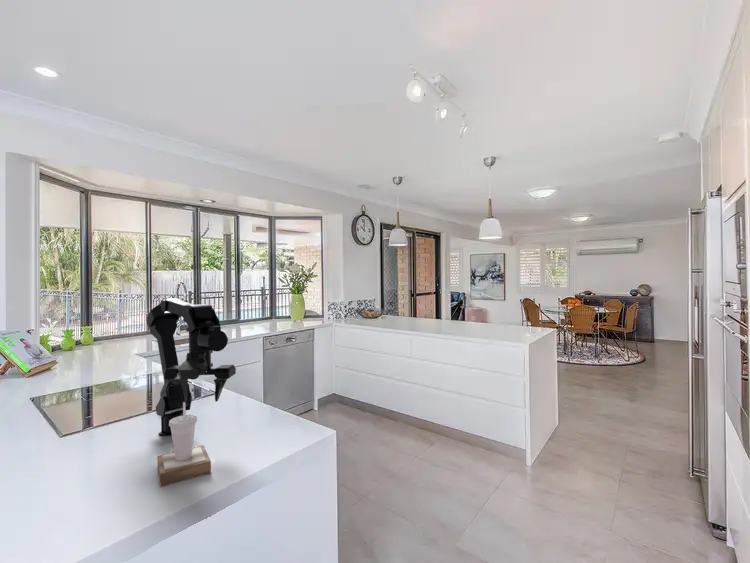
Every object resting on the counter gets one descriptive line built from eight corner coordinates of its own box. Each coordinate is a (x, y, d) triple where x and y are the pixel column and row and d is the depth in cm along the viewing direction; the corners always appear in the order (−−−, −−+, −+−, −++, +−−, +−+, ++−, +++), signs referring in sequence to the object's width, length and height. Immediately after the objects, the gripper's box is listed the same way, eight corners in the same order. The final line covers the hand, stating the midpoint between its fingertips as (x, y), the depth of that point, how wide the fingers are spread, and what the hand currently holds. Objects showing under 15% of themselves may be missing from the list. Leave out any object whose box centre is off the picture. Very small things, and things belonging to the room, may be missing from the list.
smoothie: (179, 465, 92) (178, 407, 92) (163, 459, 96) (163, 403, 96) (202, 454, 98) (202, 400, 98) (187, 449, 101) (186, 396, 101)
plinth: (157, 467, 98) (157, 454, 98) (203, 456, 104) (203, 444, 104) (160, 486, 89) (160, 472, 89) (210, 473, 95) (210, 460, 95)
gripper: (151, 353, 103) (152, 411, 103) (220, 352, 102) (221, 410, 103) (173, 346, 114) (174, 398, 114) (236, 345, 114) (236, 397, 114)
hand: (200, 401), depth 111 cm, fingers open, 9 cm apart
